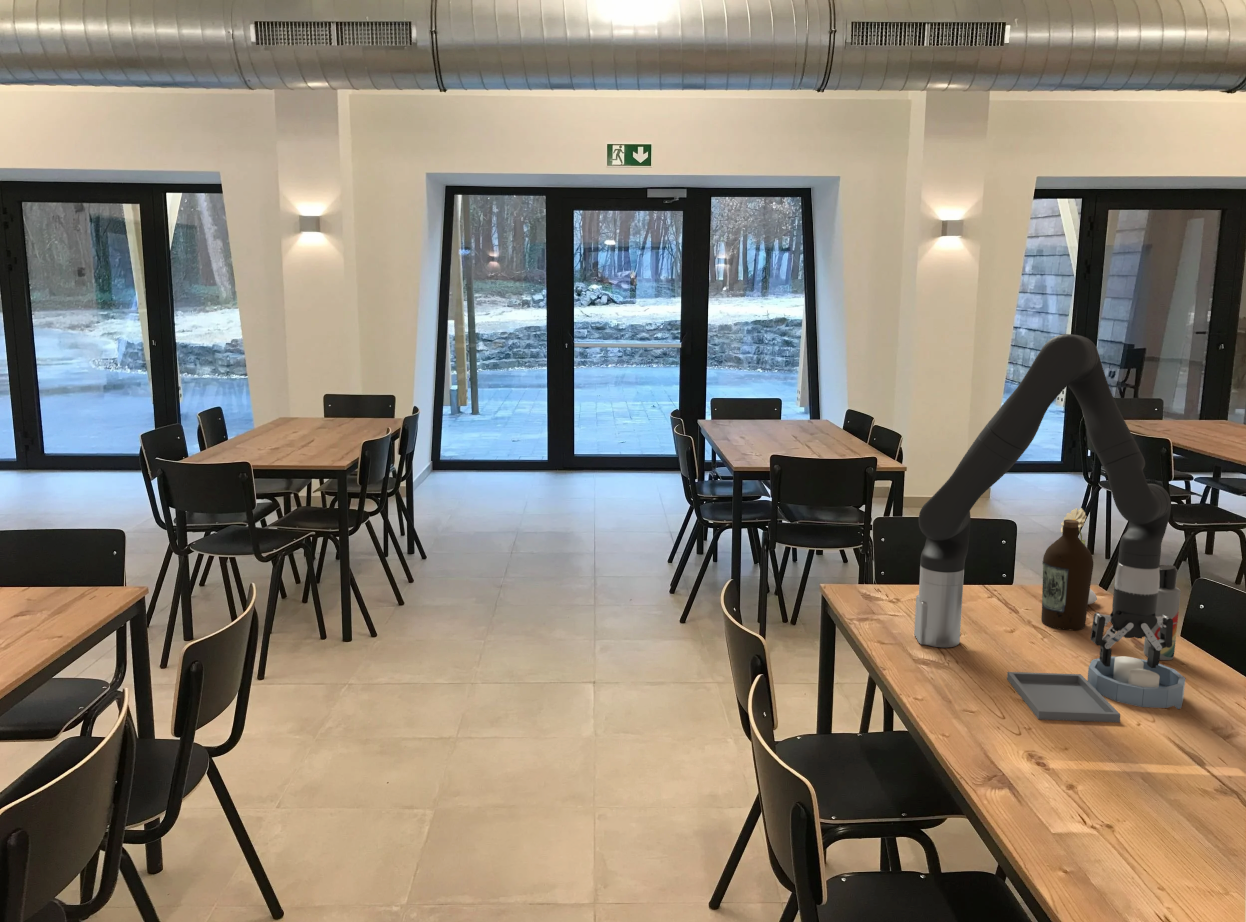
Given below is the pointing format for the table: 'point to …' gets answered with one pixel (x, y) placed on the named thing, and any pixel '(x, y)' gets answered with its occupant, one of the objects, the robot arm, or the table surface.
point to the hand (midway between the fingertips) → (1128, 665)
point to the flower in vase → (1081, 517)
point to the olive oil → (1066, 580)
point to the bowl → (1155, 697)
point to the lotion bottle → (1166, 607)
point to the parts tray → (1062, 697)
